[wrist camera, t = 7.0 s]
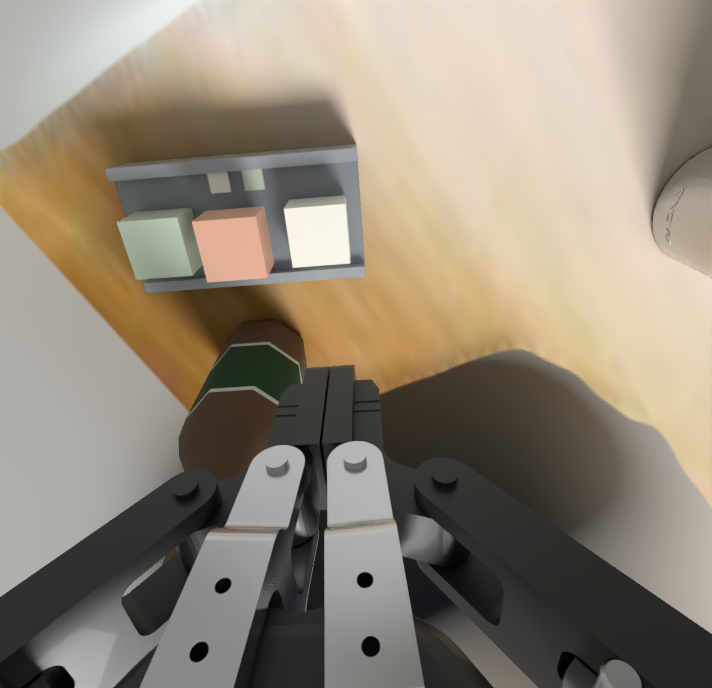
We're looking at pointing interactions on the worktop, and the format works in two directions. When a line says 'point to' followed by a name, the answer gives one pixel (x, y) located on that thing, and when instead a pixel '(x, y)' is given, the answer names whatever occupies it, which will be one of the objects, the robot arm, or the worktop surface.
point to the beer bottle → (241, 400)
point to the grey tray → (249, 201)
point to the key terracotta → (234, 244)
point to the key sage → (161, 243)
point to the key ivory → (318, 231)
